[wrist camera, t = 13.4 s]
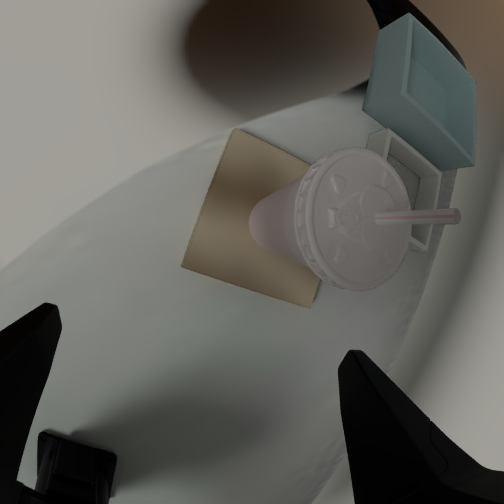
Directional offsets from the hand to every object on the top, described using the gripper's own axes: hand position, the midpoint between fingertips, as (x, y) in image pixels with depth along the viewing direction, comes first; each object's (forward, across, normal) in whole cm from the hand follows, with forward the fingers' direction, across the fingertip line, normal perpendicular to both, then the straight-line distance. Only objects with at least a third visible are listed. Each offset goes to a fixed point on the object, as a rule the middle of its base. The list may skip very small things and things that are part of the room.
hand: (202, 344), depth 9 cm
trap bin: (+26, -18, -11) cm, 33 cm away
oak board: (+14, -4, +2) cm, 15 cm away
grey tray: (+19, -15, -1) cm, 24 cm away
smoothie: (+14, -4, +2) cm, 15 cm away
